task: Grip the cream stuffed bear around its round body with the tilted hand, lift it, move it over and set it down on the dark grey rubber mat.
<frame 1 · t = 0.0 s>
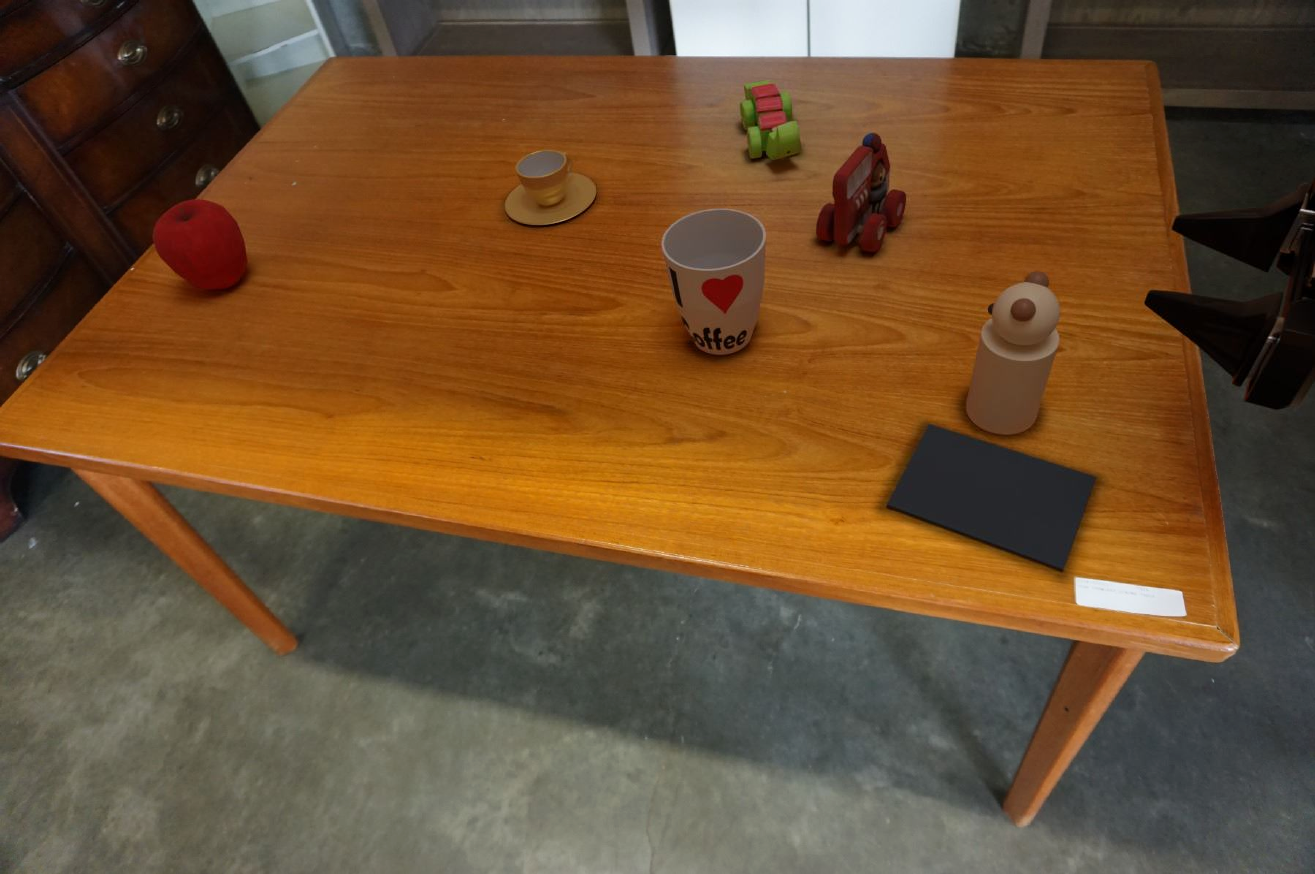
hand: (1160, 258, 59), 18 cm above the table, tool horizontal, fingers open, 9 cm apart
mat: (990, 493, 69), on the table
bear: (1000, 410, 75), on the table
apple: (226, 282, 106), on the table
toy fire truck: (860, 231, 95), on the table
cup: (722, 336, 87), on the table
cup 2: (551, 201, 108), on the table
toy crocodile: (770, 138, 111), on the table
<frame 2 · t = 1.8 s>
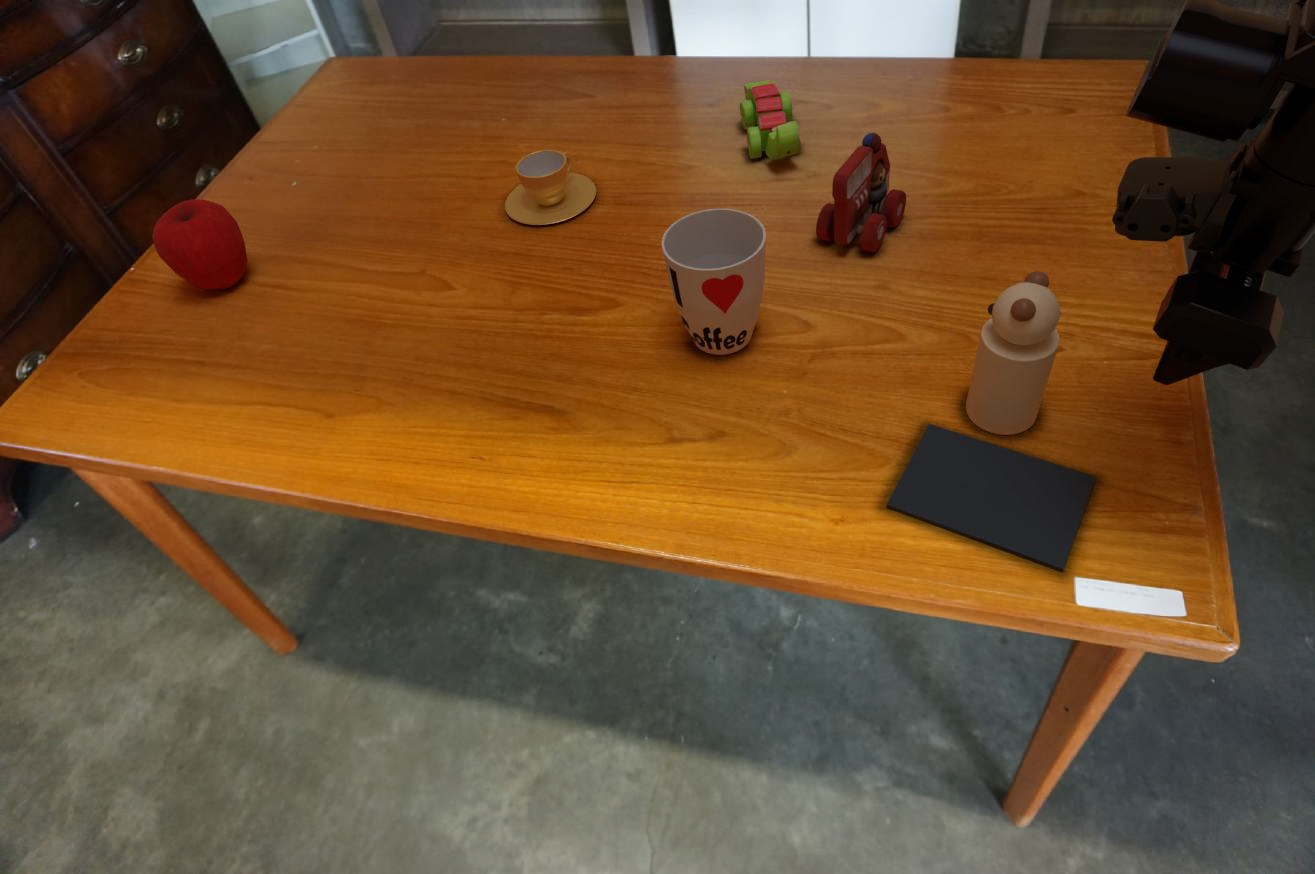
hand: (1172, 340, 62), 12 cm above the table, tool pointing down, fingers open, 9 cm apart
nothing on the table moved.
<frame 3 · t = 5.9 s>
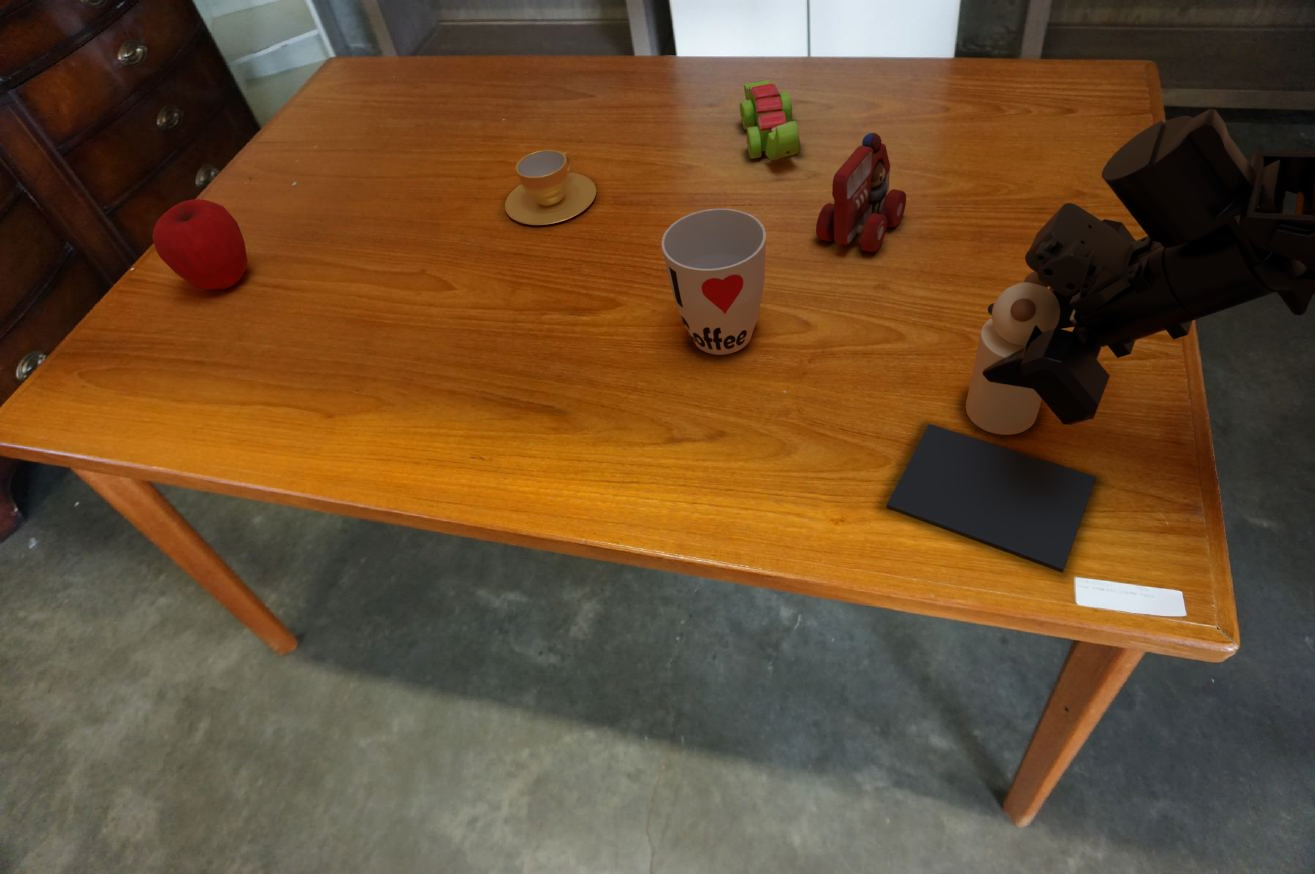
hand: (997, 352, 71), 7 cm above the table, tool tilted 45°, fingers closed on bear, 6 cm apart
bear: (1000, 410, 75), on the table, touching gripper
everything else where it was.
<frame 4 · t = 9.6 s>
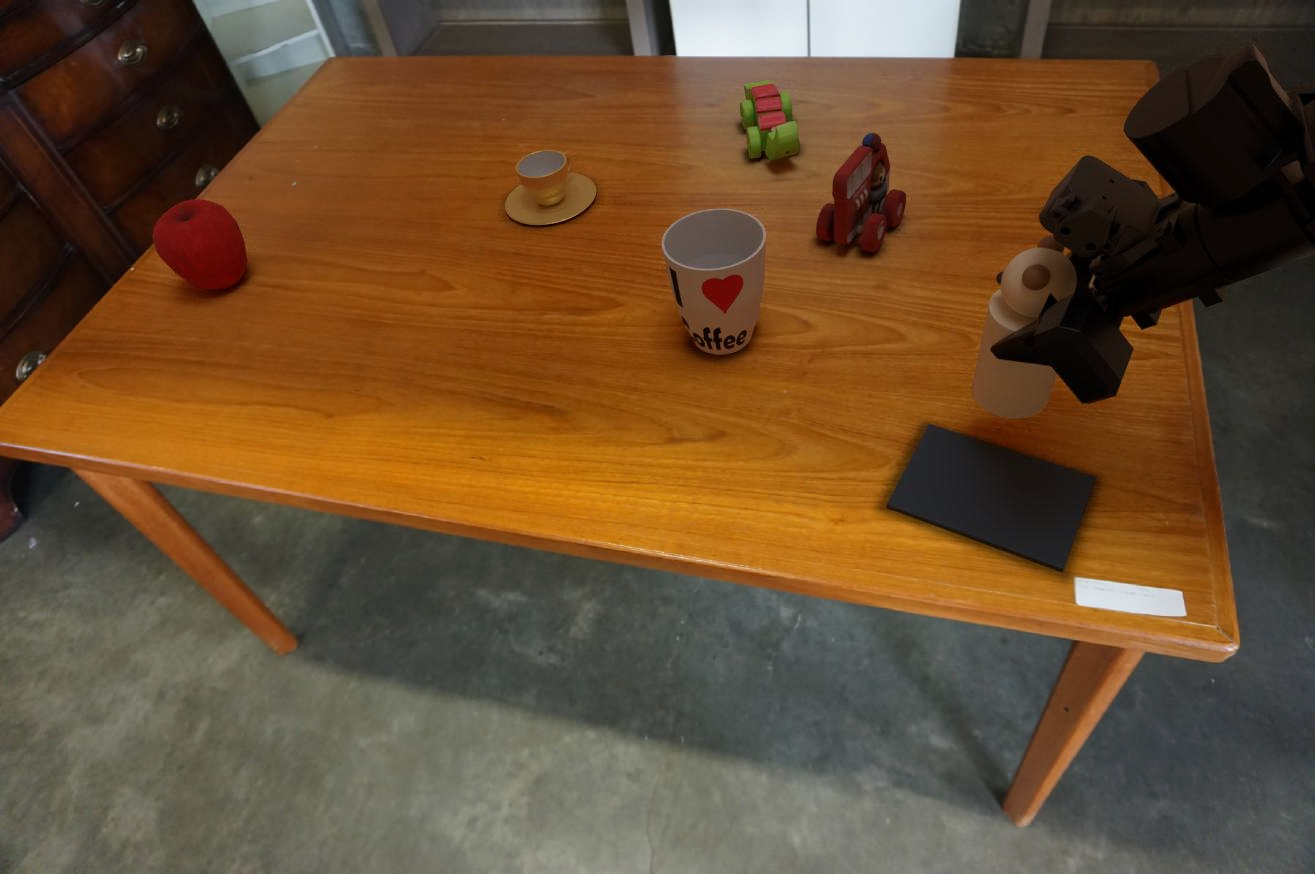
hand: (1007, 327, 64), 12 cm above the table, tool tilted 45°, fingers closed on bear, 6 cm apart
bear: (1009, 392, 68), point 6 cm above the table, touching gripper
everything else where it was.
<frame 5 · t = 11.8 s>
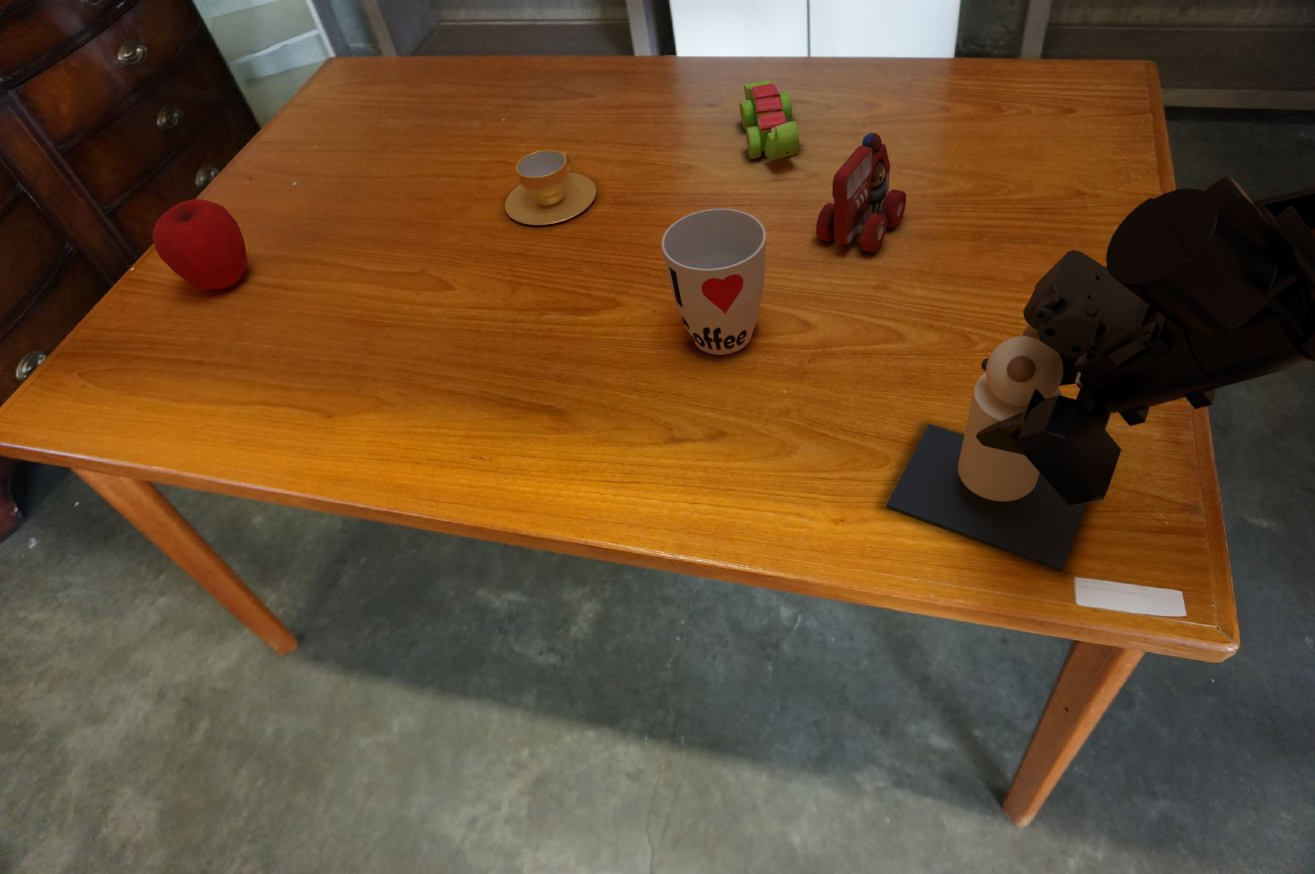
hand: (993, 410, 63), 9 cm above the table, tool tilted 45°, fingers closed on bear, 6 cm apart
bear: (997, 471, 67), point 3 cm above the table, touching gripper
everything else where it was.
when the fingers open (7 cm above the table, at t = 13.2 s): bear stays where it is, resting on mat.
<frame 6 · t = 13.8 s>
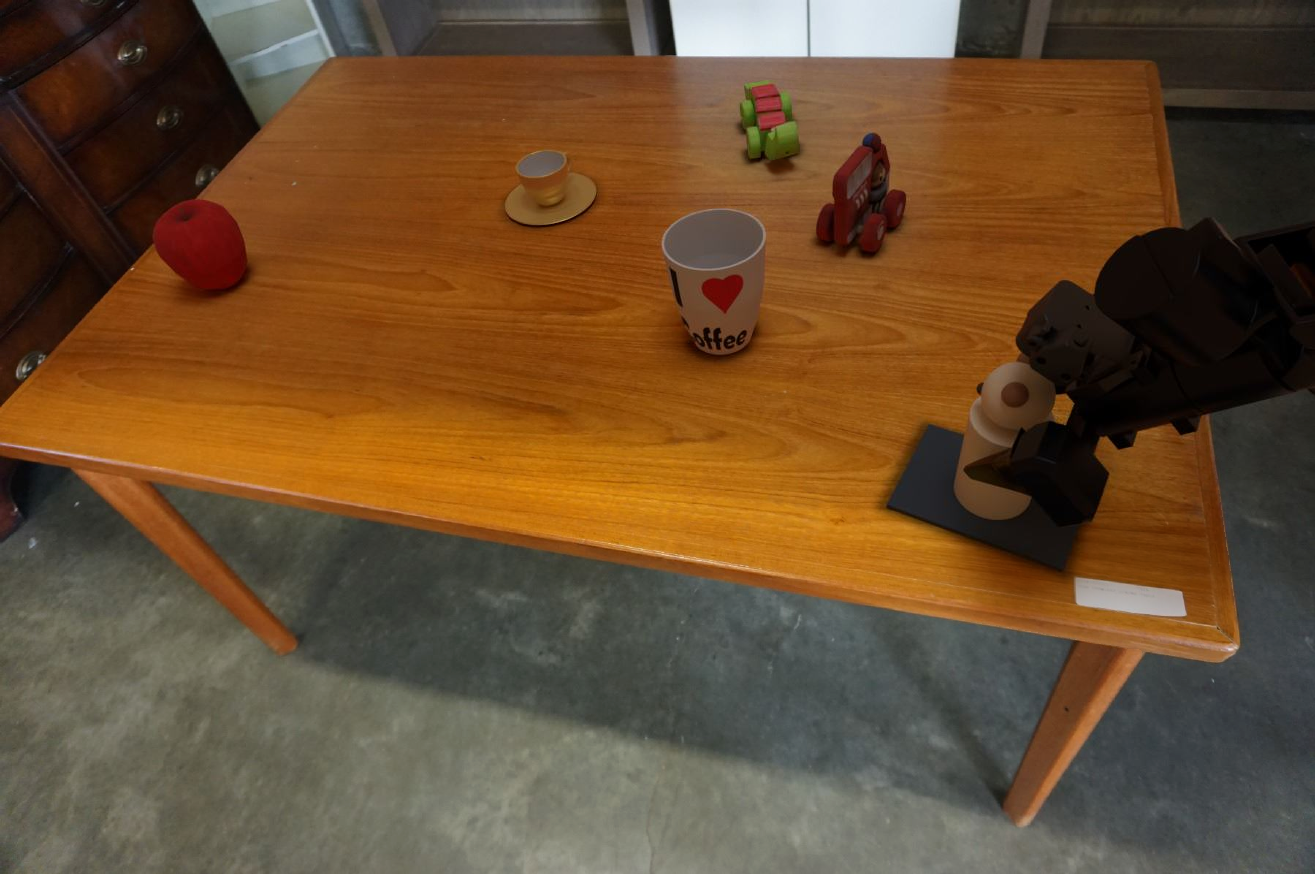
hand: (986, 431, 65), 7 cm above the table, tool tilted 45°, fingers open, 9 cm apart
bear: (991, 490, 69), resting on mat
everything else where it was.
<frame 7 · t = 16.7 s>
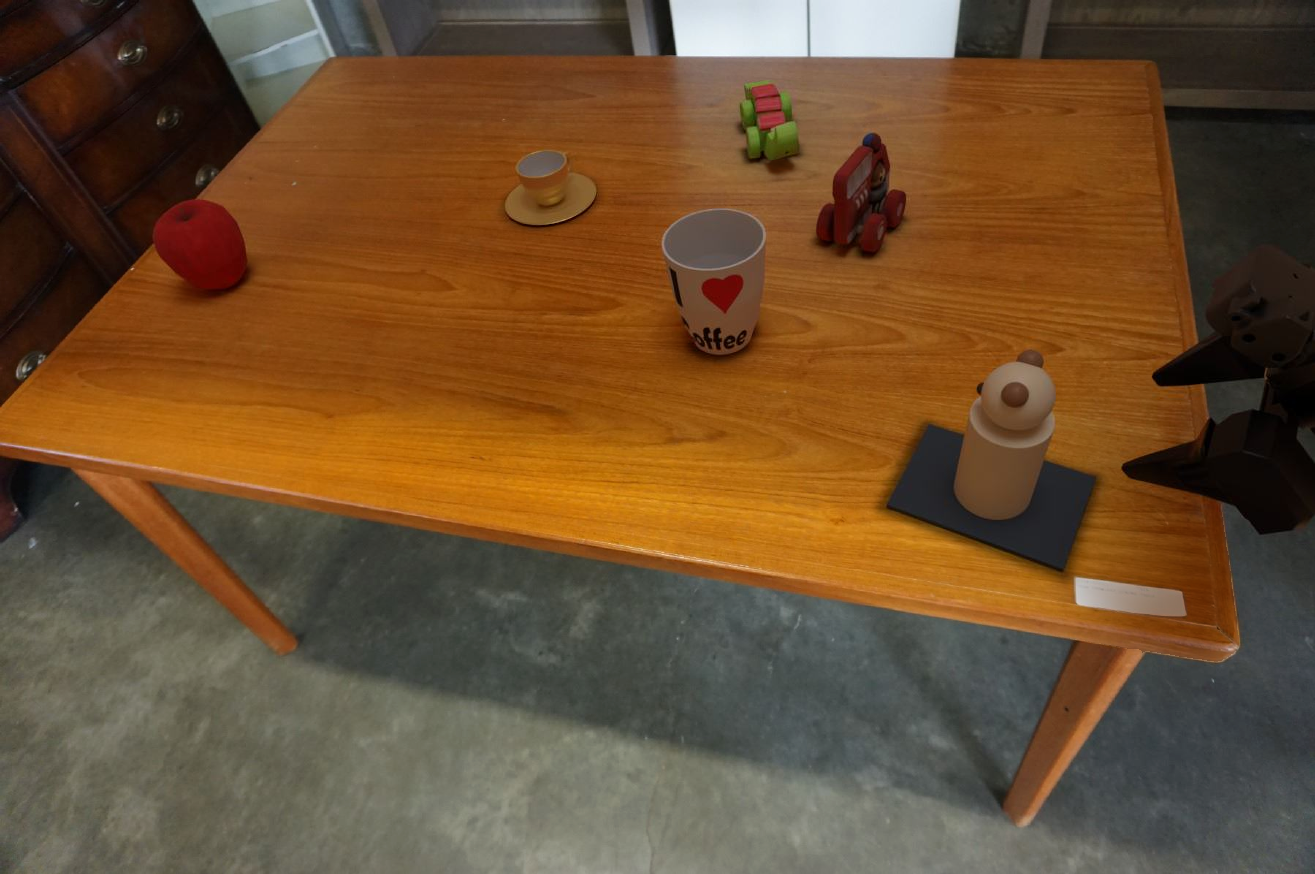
hand: (1140, 423, 57), 12 cm above the table, tool tilted 45°, fingers open, 9 cm apart
nothing on the table moved.
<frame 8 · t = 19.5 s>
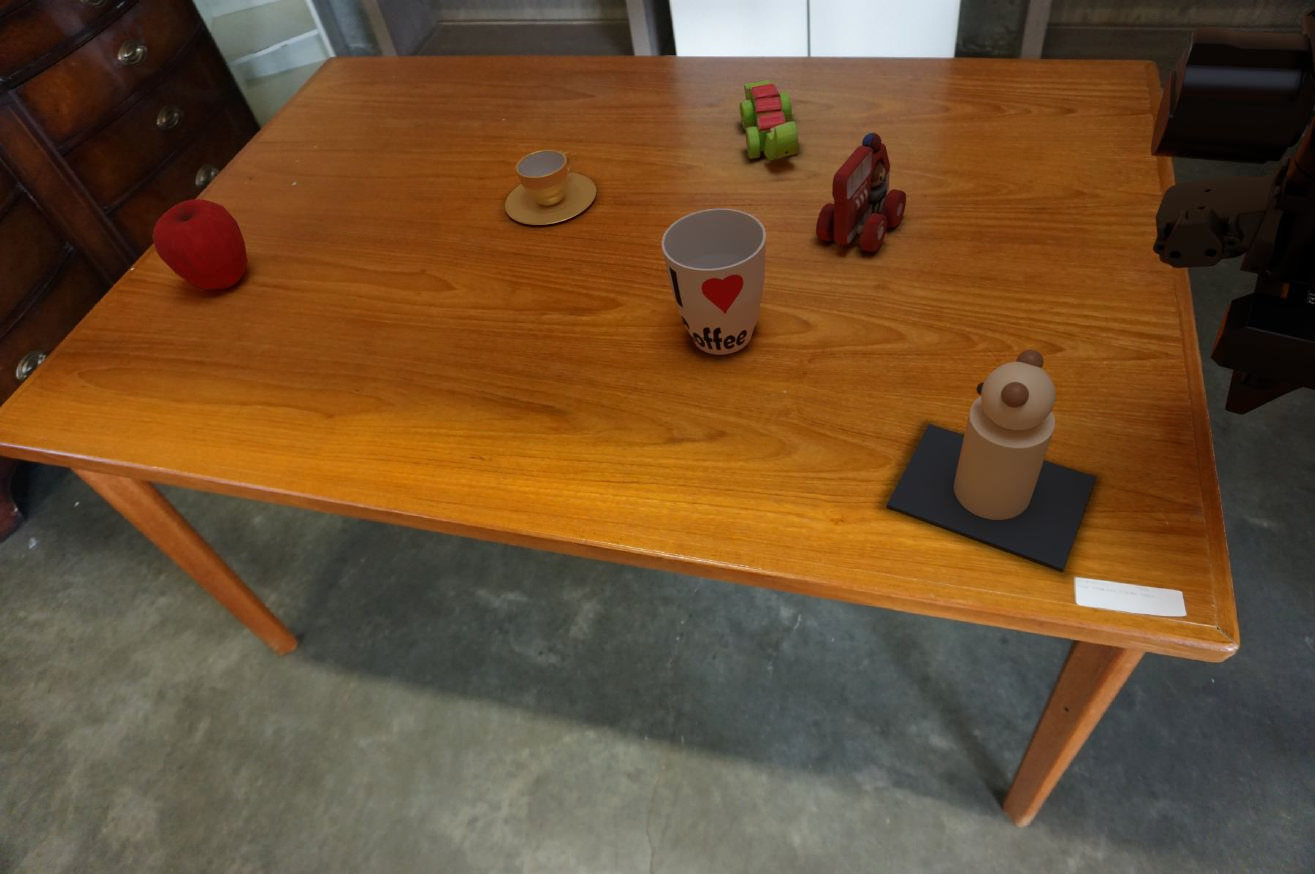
hand: (1244, 367, 58), 13 cm above the table, tool pointing down, fingers open, 9 cm apart
nothing on the table moved.
at the end: bear inside the target area (0.1 cm from its centre), resting on mat; bear tilted 0°; the gripper is holding nothing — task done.
